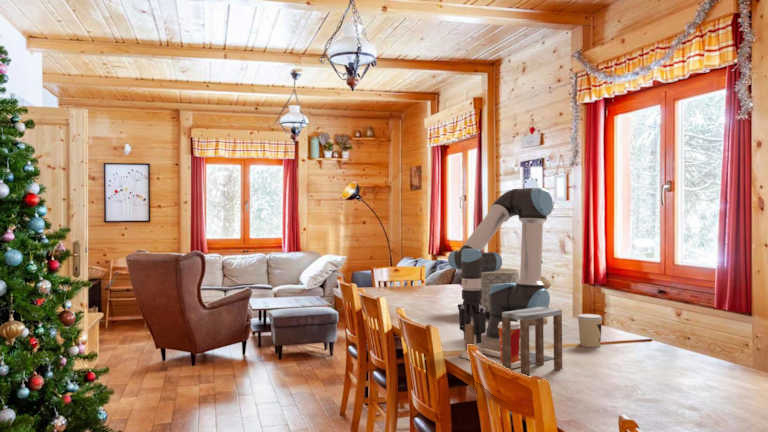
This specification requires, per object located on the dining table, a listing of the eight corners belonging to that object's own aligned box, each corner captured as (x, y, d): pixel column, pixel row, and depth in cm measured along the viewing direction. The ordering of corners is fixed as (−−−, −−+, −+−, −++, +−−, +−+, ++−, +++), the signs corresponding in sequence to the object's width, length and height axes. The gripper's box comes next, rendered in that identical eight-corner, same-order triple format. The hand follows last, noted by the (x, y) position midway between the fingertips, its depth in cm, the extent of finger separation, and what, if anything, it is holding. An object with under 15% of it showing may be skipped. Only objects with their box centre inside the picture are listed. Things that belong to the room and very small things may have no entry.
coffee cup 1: (494, 362, 216) (494, 321, 216) (516, 361, 217) (516, 320, 217) (502, 368, 208) (502, 325, 208) (525, 367, 209) (524, 324, 209)
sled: (457, 356, 226) (456, 325, 226) (480, 351, 233) (480, 321, 233) (507, 369, 205) (507, 336, 205) (531, 363, 213) (531, 331, 213)
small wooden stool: (502, 372, 203) (501, 312, 203) (539, 363, 214) (538, 306, 214) (525, 378, 195) (524, 316, 195) (562, 369, 206) (561, 310, 206)
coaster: (504, 357, 223) (504, 356, 223) (527, 352, 231) (527, 351, 231) (531, 364, 213) (531, 363, 213) (554, 358, 221) (554, 358, 221)
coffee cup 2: (604, 348, 237) (603, 317, 237) (579, 347, 239) (579, 317, 239) (600, 343, 246) (600, 314, 246) (576, 342, 248) (576, 313, 248)
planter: (522, 312, 322) (521, 268, 322) (516, 320, 298) (516, 273, 298) (475, 310, 330) (475, 267, 330) (467, 318, 307) (466, 272, 307)
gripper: (449, 288, 232) (450, 348, 232) (481, 292, 219) (482, 355, 219) (463, 286, 237) (463, 345, 237) (495, 290, 223) (496, 352, 223)
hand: (472, 350), depth 228 cm, fingers closed on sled, 4 cm apart
